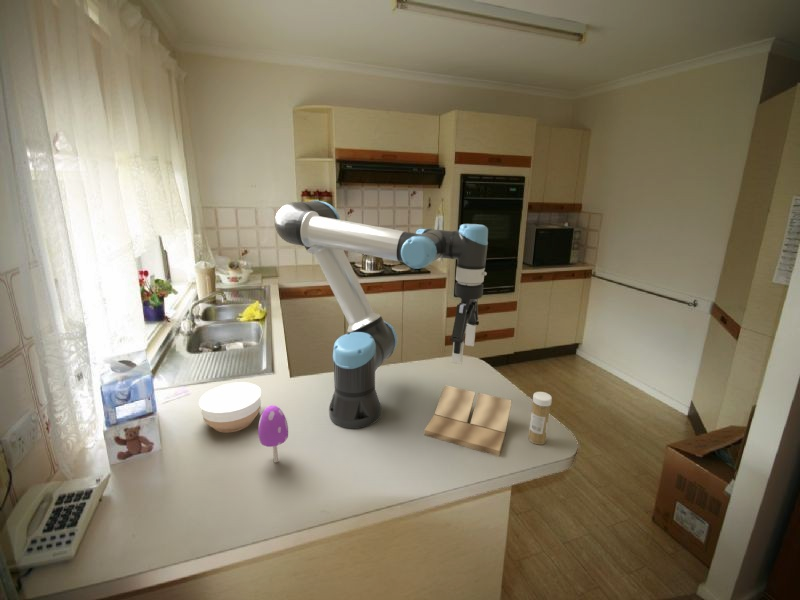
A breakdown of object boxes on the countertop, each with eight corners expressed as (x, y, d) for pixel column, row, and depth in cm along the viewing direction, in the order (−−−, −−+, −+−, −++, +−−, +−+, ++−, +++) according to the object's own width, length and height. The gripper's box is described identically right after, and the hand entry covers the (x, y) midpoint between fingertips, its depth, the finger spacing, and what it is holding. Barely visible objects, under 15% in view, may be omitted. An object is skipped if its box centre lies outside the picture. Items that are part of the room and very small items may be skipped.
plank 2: (470, 425, 109) (470, 423, 108) (478, 394, 115) (478, 392, 114) (505, 434, 105) (505, 432, 104) (511, 402, 111) (511, 400, 110)
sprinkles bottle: (549, 441, 103) (555, 396, 100) (538, 447, 101) (544, 401, 97) (534, 432, 107) (541, 389, 103) (523, 438, 105) (529, 393, 101)
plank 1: (434, 416, 113) (434, 414, 112) (444, 387, 119) (444, 385, 118) (467, 424, 109) (466, 422, 108) (475, 394, 115) (475, 392, 114)
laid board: (424, 435, 105) (424, 429, 105) (435, 416, 113) (435, 412, 113) (498, 456, 97) (499, 450, 97) (505, 435, 106) (505, 430, 105)
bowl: (238, 400, 120) (236, 377, 118) (275, 415, 113) (273, 391, 110) (189, 426, 107) (185, 401, 105) (227, 446, 99) (224, 419, 97)
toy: (274, 474, 90) (269, 418, 86) (255, 463, 93) (249, 408, 89) (296, 458, 95) (292, 404, 91) (277, 448, 99) (273, 396, 94)
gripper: (471, 295, 93) (464, 374, 99) (492, 274, 115) (485, 341, 121) (442, 291, 96) (437, 368, 102) (467, 271, 118) (462, 336, 124)
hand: (463, 353), depth 112 cm, fingers open, 13 cm apart
